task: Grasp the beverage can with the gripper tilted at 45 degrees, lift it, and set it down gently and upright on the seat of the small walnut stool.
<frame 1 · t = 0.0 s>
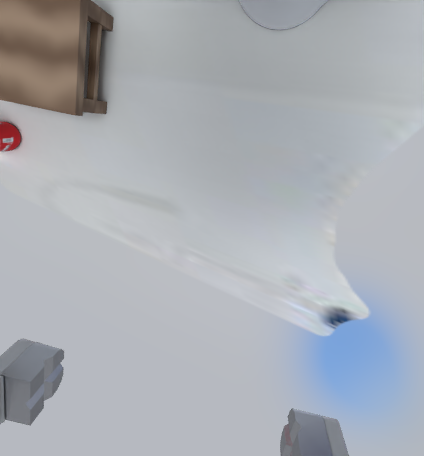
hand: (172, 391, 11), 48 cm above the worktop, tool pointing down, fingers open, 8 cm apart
beverage can: (11, 136, 59), on the worktop
walnut stool: (68, 59, 54), on the worktop
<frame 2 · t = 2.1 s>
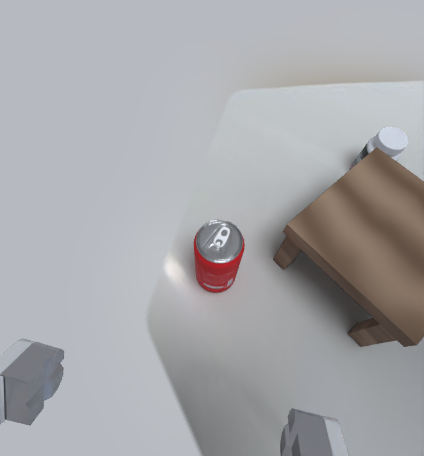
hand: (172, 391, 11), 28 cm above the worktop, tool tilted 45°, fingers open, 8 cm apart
beverage can: (215, 275, 42), on the worktop
pill bottle: (364, 174, 50), on the worktop
walnut stool: (350, 264, 43), on the worktop
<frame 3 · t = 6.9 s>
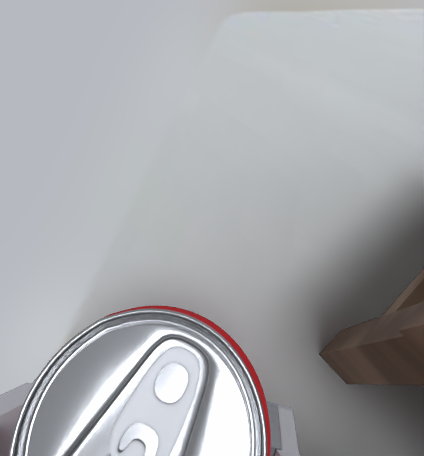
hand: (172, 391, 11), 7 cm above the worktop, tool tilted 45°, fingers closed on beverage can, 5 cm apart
beverage can: (177, 400, 17), on the worktop, touching gripper
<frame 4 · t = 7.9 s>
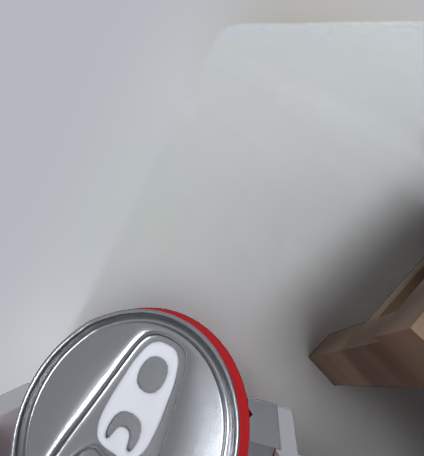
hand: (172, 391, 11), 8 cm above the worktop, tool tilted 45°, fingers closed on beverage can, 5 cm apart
beverage can: (190, 408, 17), on the worktop, touching gripper
when the fingers open (19 cm above the worktop, at t = 12.6 s): beverage can stays where it is, resting on walnut stool.
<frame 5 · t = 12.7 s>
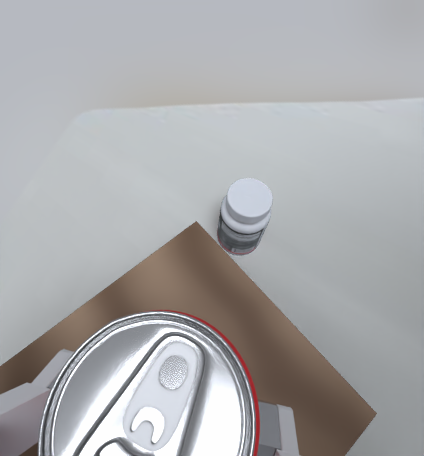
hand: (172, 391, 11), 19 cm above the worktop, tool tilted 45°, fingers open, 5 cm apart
beverage can: (176, 409, 17), point 11 cm above the worktop, touching walnut stool
pill bottle: (238, 236, 35), on the worktop
walnut stool: (184, 392, 28), on the worktop
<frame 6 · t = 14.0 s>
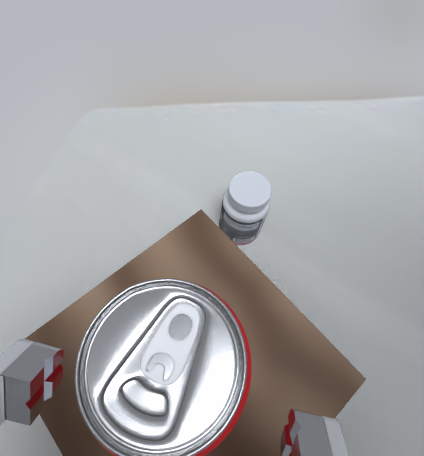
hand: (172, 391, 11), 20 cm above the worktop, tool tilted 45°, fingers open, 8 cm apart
beverage can: (185, 375, 19), point 11 cm above the worktop, touching walnut stool
pill bottle: (238, 228, 37), on the worktop
walnut stool: (190, 371, 29), on the worktop
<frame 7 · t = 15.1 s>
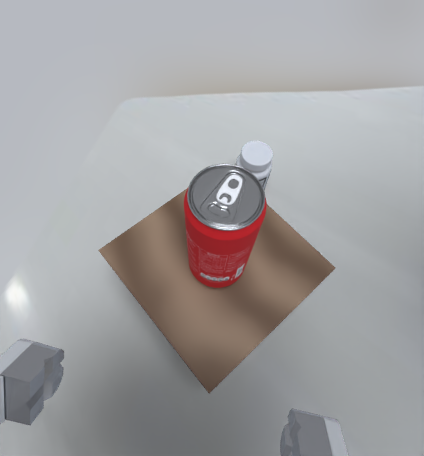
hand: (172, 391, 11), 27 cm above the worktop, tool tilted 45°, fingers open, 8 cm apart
beverage can: (216, 264, 30), point 11 cm above the worktop, touching walnut stool
pill bottle: (247, 189, 47), on the worktop
walnut stool: (212, 289, 40), on the worktop
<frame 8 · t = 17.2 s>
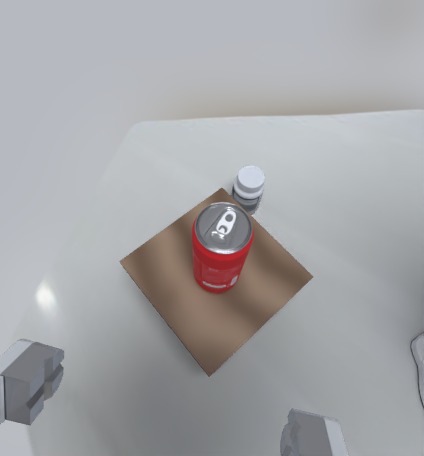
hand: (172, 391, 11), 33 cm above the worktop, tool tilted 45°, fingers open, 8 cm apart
beverage can: (215, 273, 36), point 11 cm above the worktop, touching walnut stool
pill bottle: (243, 205, 53), on the worktop
walnut stool: (212, 293, 46), on the worktop
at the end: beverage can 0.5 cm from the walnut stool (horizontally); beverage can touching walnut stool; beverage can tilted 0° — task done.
